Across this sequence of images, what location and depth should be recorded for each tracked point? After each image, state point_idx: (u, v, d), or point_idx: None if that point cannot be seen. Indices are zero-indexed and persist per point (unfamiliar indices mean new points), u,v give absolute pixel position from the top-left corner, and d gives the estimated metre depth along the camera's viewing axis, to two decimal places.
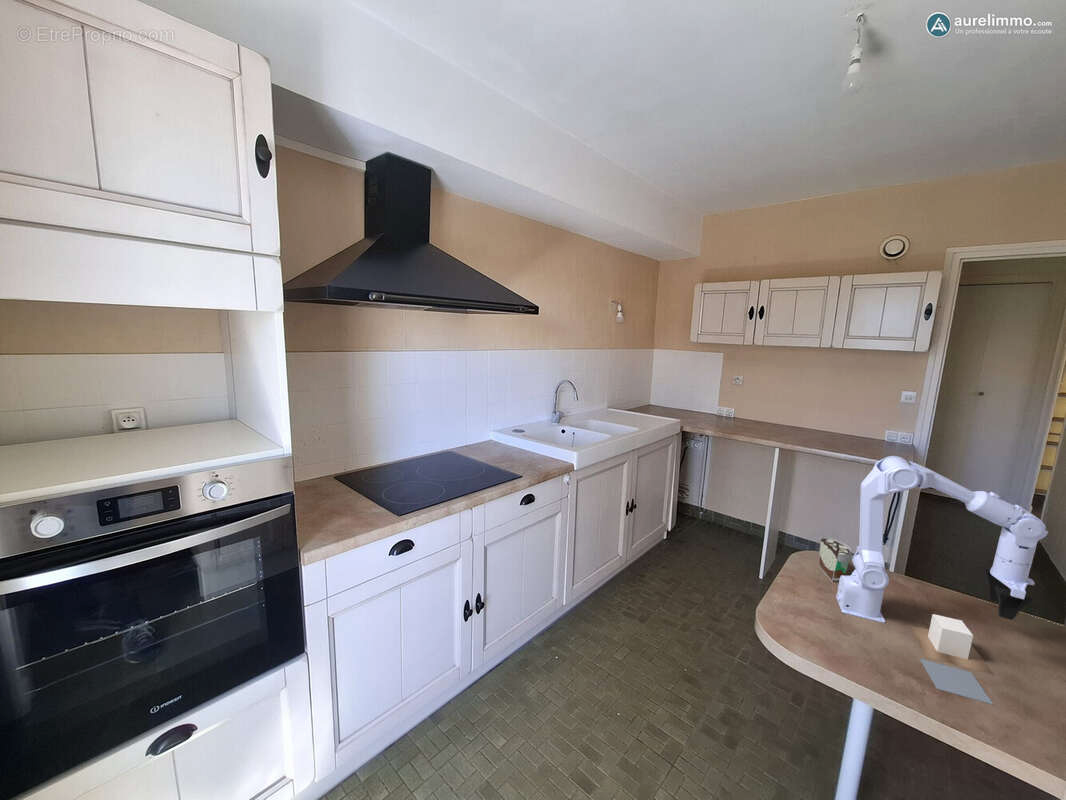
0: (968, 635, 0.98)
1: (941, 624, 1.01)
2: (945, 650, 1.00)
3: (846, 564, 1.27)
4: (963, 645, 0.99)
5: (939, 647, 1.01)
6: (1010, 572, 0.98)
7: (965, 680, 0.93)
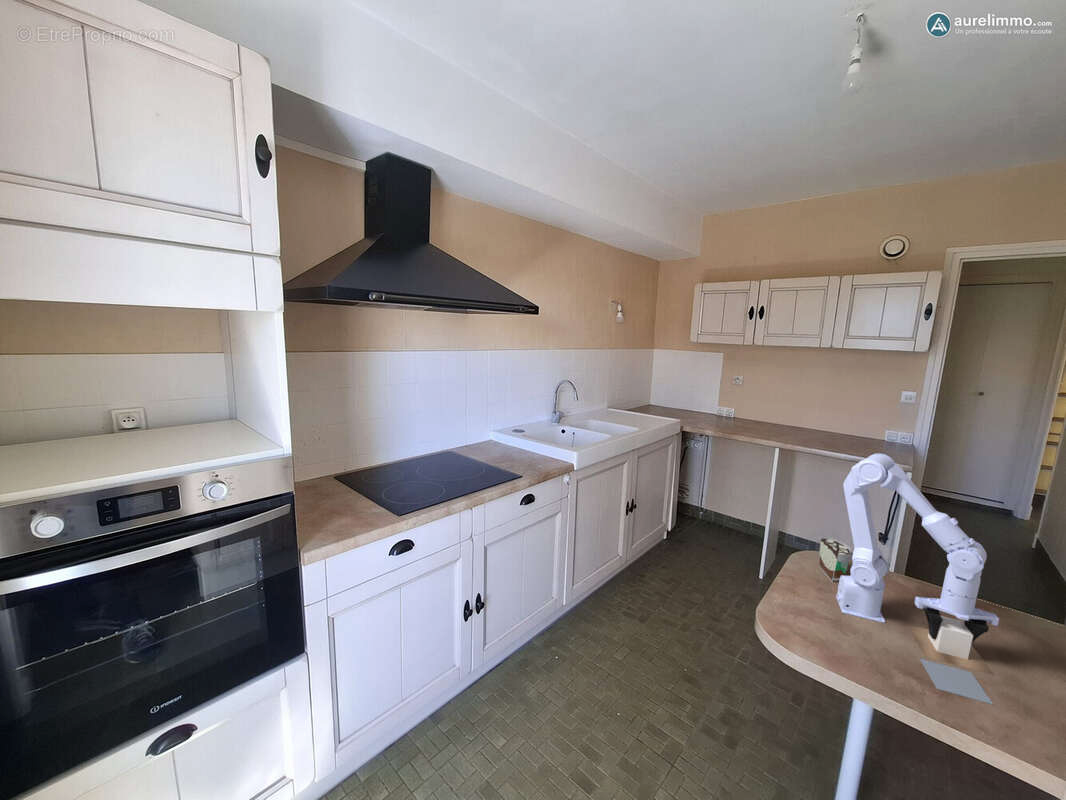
0: (968, 635, 0.98)
1: (941, 624, 1.01)
2: (945, 650, 1.00)
3: (846, 564, 1.27)
4: (963, 645, 0.99)
5: (939, 647, 1.01)
6: (941, 595, 1.02)
7: (965, 680, 0.93)
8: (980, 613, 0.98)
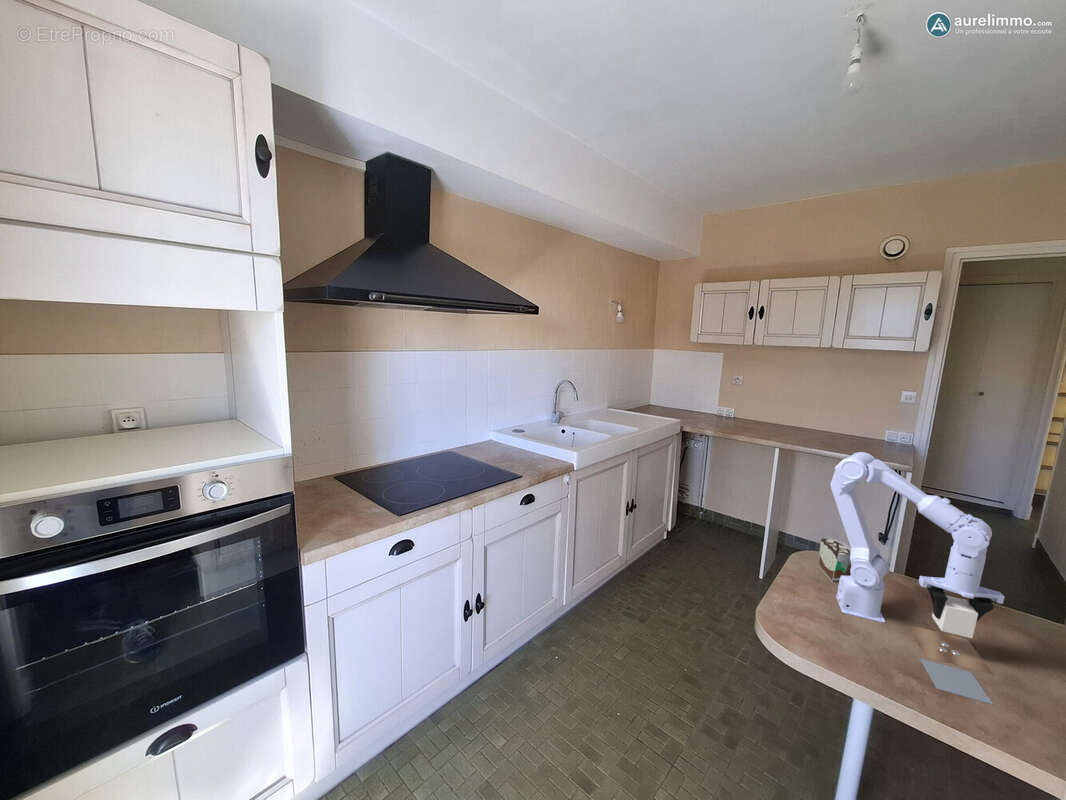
0: (973, 613, 0.97)
1: (945, 603, 1.00)
2: (950, 629, 0.99)
3: (846, 564, 1.27)
4: (968, 624, 0.98)
5: (943, 626, 1.00)
6: (945, 574, 1.01)
7: (965, 680, 0.93)
8: (985, 591, 0.97)
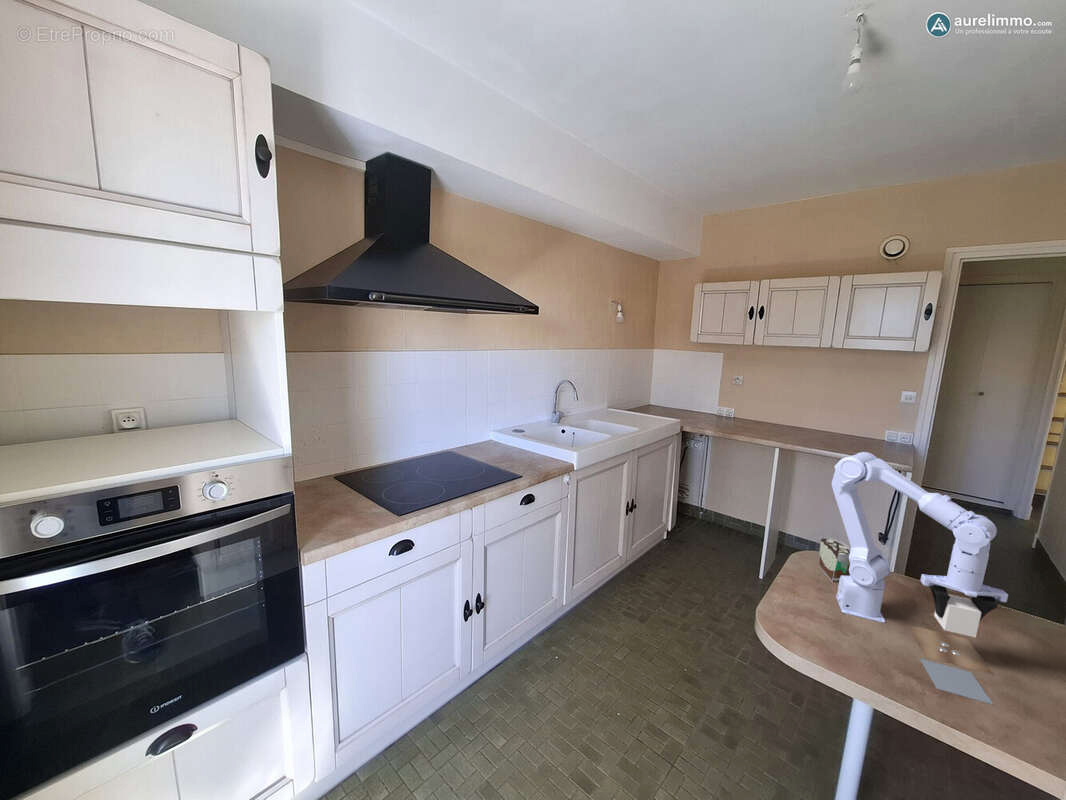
0: (976, 612, 0.95)
1: (948, 602, 0.98)
2: (952, 628, 0.98)
3: (846, 564, 1.27)
4: (971, 623, 0.96)
5: (946, 625, 0.98)
6: (948, 572, 0.99)
7: (965, 680, 0.93)
8: (988, 590, 0.96)
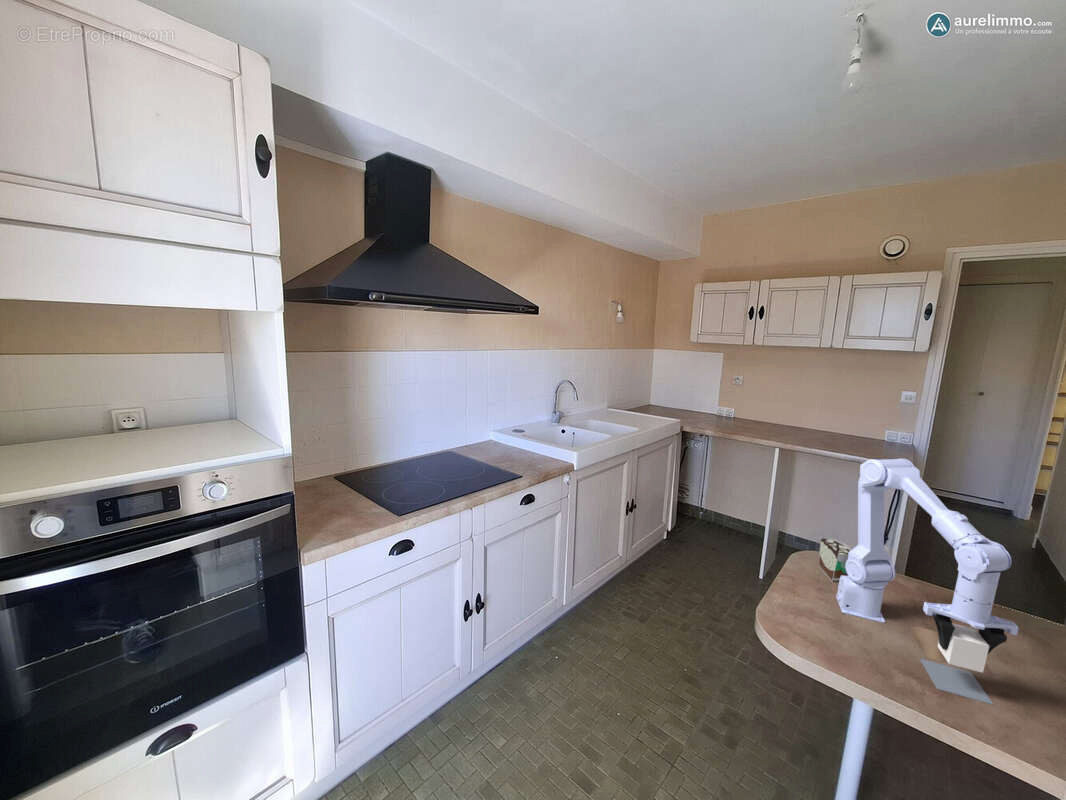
0: (983, 646, 0.88)
1: (953, 633, 0.91)
2: (958, 662, 0.90)
3: None
4: (978, 657, 0.88)
5: (951, 659, 0.90)
6: None
7: (965, 680, 0.93)
8: (997, 621, 0.88)
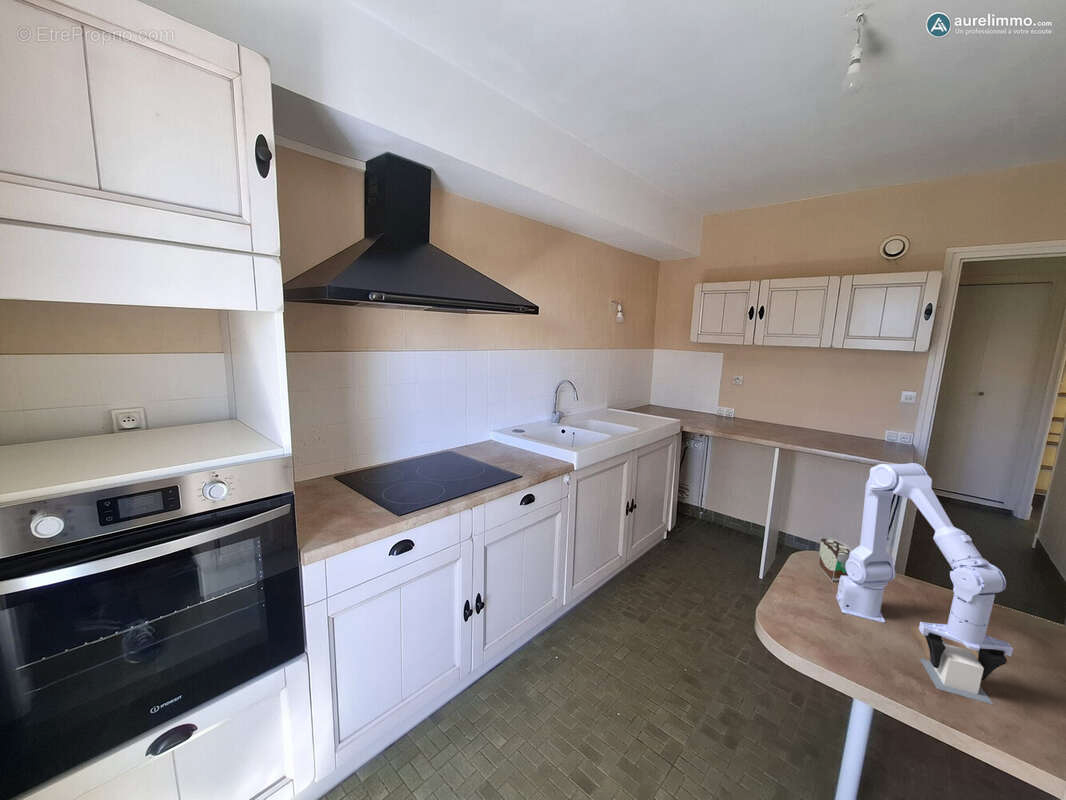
0: (978, 668, 0.89)
1: (948, 655, 0.92)
2: (953, 683, 0.91)
3: None
4: (972, 679, 0.89)
5: (946, 680, 0.91)
6: (948, 621, 0.92)
7: None
8: (992, 642, 0.89)
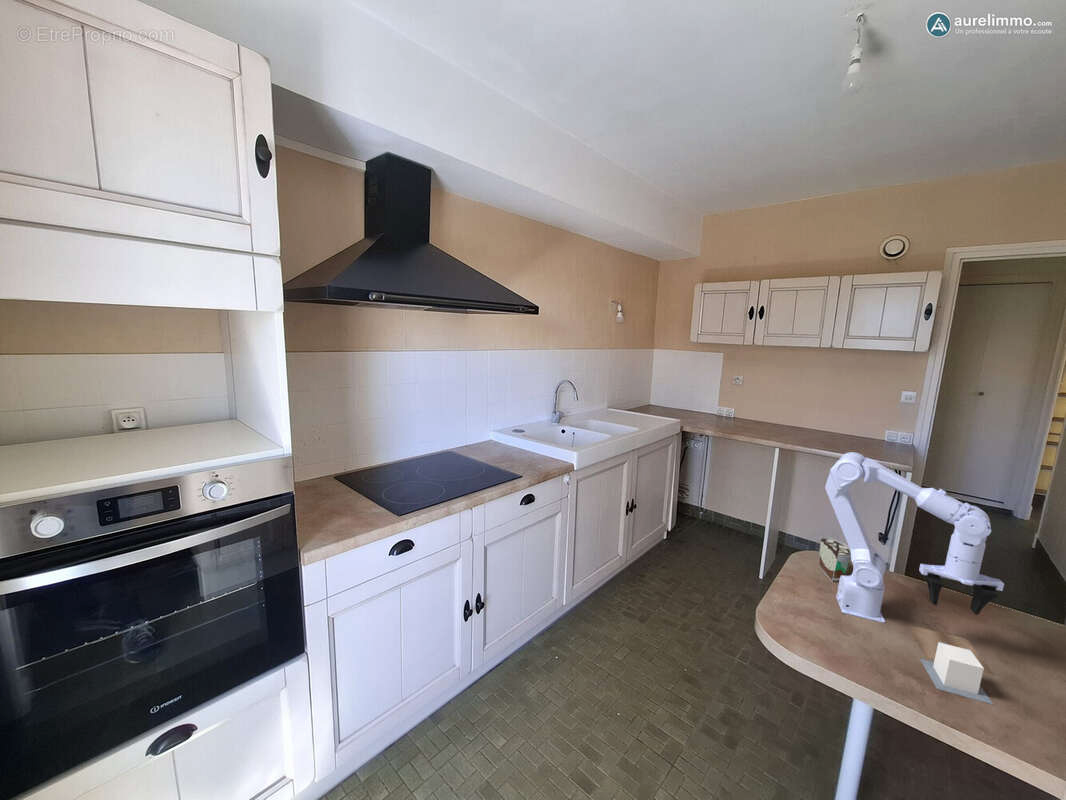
0: (978, 668, 0.89)
1: (948, 655, 0.92)
2: (953, 683, 0.91)
3: (846, 564, 1.27)
4: (972, 679, 0.89)
5: (946, 680, 0.91)
6: (946, 562, 1.02)
7: None
8: (985, 579, 0.99)
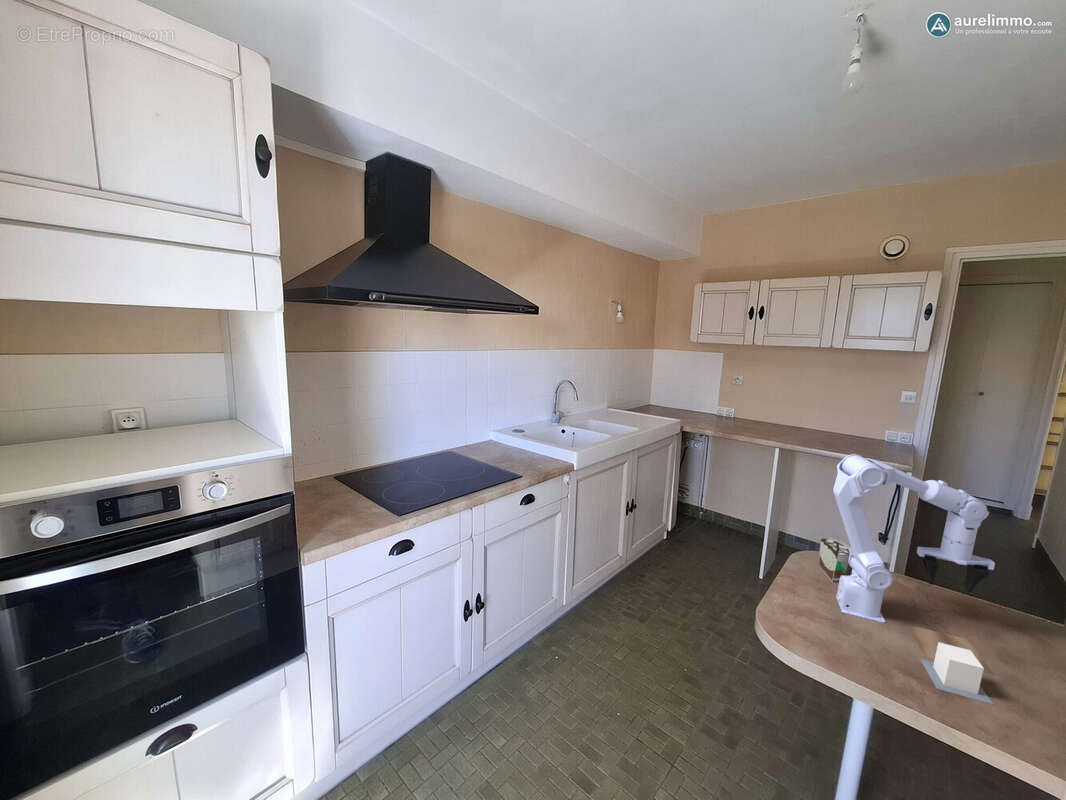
0: (978, 668, 0.89)
1: (948, 655, 0.92)
2: (953, 683, 0.91)
3: (846, 564, 1.27)
4: (972, 679, 0.89)
5: (946, 680, 0.91)
6: (941, 544, 1.10)
7: None
8: (977, 559, 1.06)
